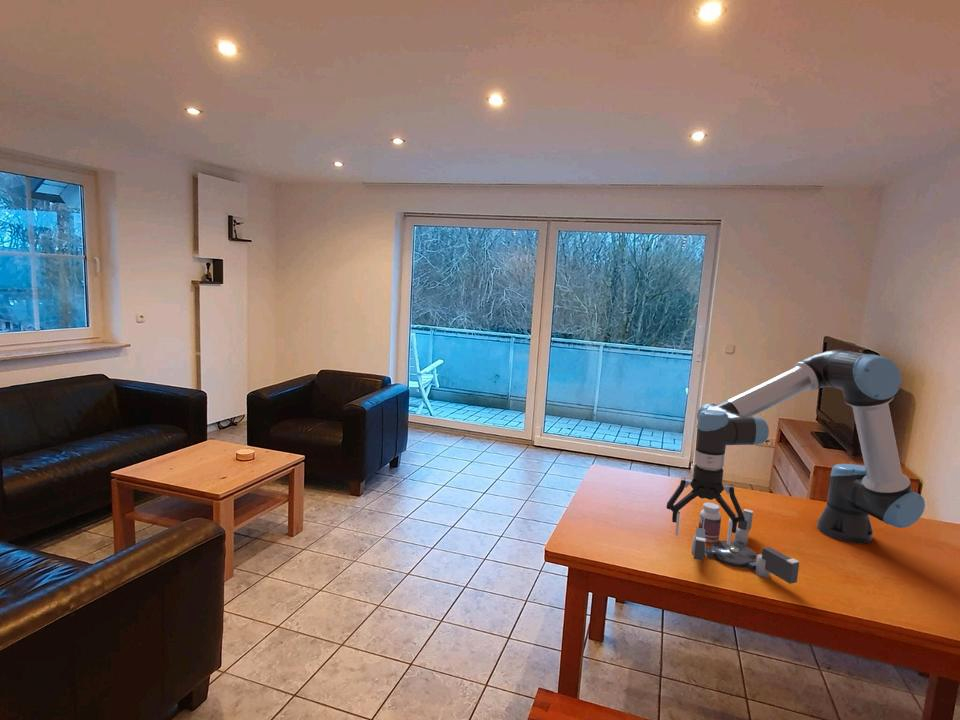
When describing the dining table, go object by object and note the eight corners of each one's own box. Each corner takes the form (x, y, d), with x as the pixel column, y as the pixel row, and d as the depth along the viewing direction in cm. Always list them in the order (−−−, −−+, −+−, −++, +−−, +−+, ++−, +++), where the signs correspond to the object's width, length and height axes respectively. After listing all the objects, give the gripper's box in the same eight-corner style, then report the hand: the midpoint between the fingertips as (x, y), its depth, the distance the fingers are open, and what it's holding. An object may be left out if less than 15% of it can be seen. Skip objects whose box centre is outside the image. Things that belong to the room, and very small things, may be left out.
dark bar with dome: (691, 549, 162) (694, 523, 160) (704, 552, 160) (707, 526, 159) (690, 566, 152) (693, 538, 150) (704, 569, 150) (707, 541, 149)
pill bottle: (722, 540, 168) (726, 507, 166) (711, 545, 165) (714, 511, 163) (705, 532, 173) (708, 500, 172) (693, 536, 170) (696, 503, 168)
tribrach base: (744, 546, 165) (745, 538, 164) (764, 572, 150) (765, 563, 150) (698, 542, 166) (699, 534, 166) (713, 567, 152) (714, 558, 151)
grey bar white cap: (752, 572, 150) (755, 544, 149) (761, 569, 151) (765, 542, 150) (787, 593, 140) (791, 563, 139) (796, 590, 142) (801, 561, 140)
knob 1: (745, 548, 164) (748, 522, 162) (732, 544, 166) (735, 519, 164) (752, 535, 172) (755, 511, 171) (740, 532, 174) (743, 508, 173)
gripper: (660, 463, 149) (655, 534, 153) (760, 477, 140) (752, 552, 144) (662, 455, 156) (657, 523, 160) (757, 468, 147) (750, 540, 151)
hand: (702, 537), depth 152 cm, fingers open, 13 cm apart
